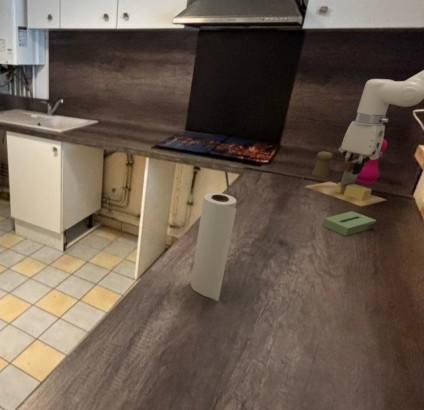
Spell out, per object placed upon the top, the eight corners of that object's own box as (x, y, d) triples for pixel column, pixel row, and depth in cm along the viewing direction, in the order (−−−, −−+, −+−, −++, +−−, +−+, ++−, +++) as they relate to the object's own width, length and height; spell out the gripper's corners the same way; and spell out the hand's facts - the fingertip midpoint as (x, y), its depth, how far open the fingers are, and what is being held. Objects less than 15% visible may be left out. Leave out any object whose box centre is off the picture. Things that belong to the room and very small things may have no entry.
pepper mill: (355, 186, 137) (372, 135, 130) (349, 180, 144) (365, 131, 136) (377, 188, 135) (396, 136, 127) (370, 182, 142) (387, 132, 134)
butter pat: (346, 191, 128) (349, 182, 127) (339, 193, 127) (342, 183, 126) (342, 190, 130) (345, 181, 128) (335, 191, 128) (338, 182, 127)
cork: (323, 181, 142) (331, 154, 138) (307, 177, 147) (314, 151, 142) (329, 178, 146) (337, 152, 142) (313, 174, 150) (320, 149, 146)
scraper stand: (373, 227, 105) (376, 220, 104) (345, 236, 101) (348, 228, 100) (349, 218, 111) (351, 211, 110) (321, 225, 106) (324, 218, 106)
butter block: (368, 198, 122) (372, 189, 121) (361, 200, 121) (364, 191, 119) (350, 192, 127) (353, 183, 126) (343, 194, 126) (346, 185, 124)
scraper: (358, 185, 127) (366, 160, 123) (342, 188, 123) (350, 163, 120) (352, 183, 129) (360, 158, 125) (335, 186, 125) (343, 161, 122)
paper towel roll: (191, 277, 82) (205, 190, 73) (219, 283, 80) (236, 194, 71) (188, 295, 76) (202, 202, 67) (218, 302, 74) (236, 207, 65)
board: (385, 203, 122) (387, 199, 122) (360, 210, 117) (361, 206, 116) (328, 185, 139) (329, 181, 138) (304, 190, 134) (305, 186, 133)
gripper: (403, 122, 111) (383, 178, 119) (351, 114, 125) (335, 165, 132) (389, 124, 109) (369, 181, 116) (337, 115, 122) (322, 167, 129)
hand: (351, 172), depth 124 cm, fingers closed on scraper, 2 cm apart
